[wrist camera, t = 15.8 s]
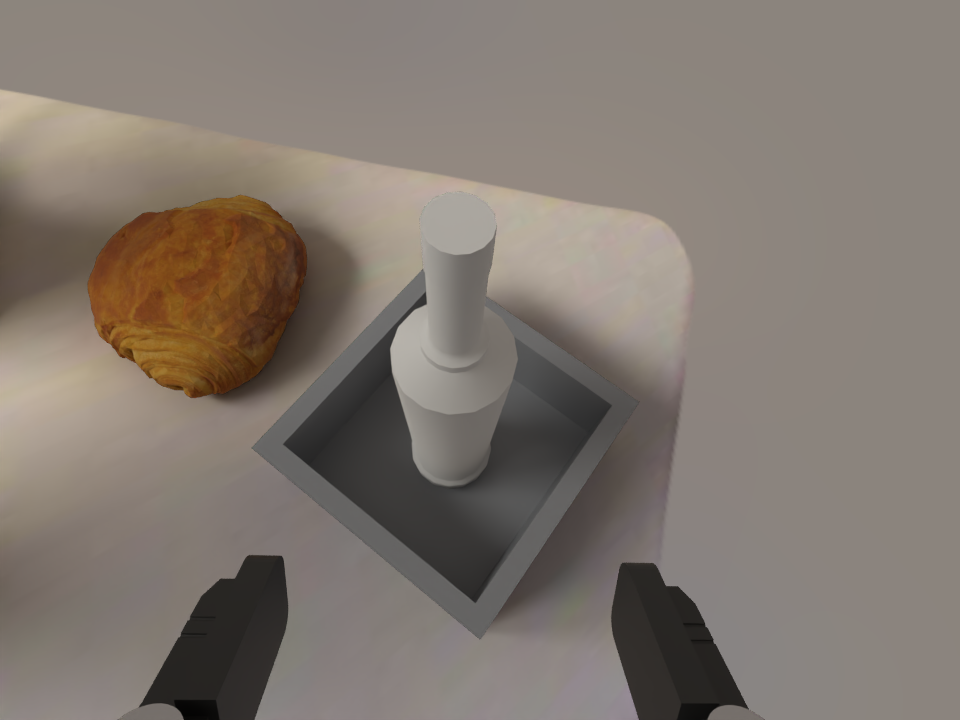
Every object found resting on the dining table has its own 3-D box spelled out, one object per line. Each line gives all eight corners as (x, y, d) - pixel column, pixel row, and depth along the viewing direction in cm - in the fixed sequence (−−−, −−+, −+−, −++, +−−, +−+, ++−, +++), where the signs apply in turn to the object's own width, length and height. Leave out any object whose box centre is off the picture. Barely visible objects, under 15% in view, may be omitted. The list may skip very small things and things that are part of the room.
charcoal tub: (284, 473, 37) (251, 448, 31) (433, 309, 43) (432, 259, 36) (473, 631, 34) (480, 639, 28) (607, 433, 40) (639, 402, 33)
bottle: (417, 413, 38) (373, 139, 16) (491, 419, 39) (556, 156, 16) (408, 488, 36) (343, 299, 13) (487, 494, 37) (554, 317, 14)
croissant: (341, 263, 47) (331, 191, 40) (257, 427, 39) (227, 371, 32) (178, 217, 47) (141, 137, 40) (62, 369, 39) (-11, 302, 32)
